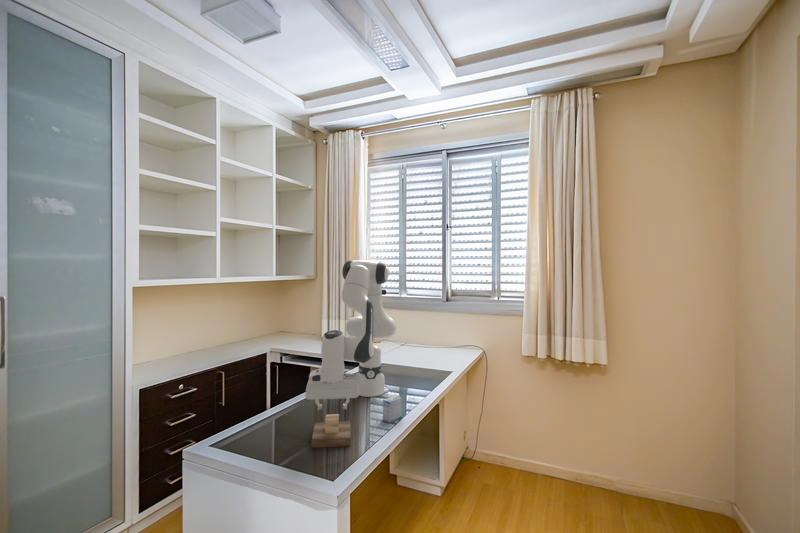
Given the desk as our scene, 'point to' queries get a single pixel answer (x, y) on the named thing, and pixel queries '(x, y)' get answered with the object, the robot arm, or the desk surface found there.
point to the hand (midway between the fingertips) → (332, 409)
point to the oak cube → (332, 423)
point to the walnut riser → (331, 435)
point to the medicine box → (392, 408)
